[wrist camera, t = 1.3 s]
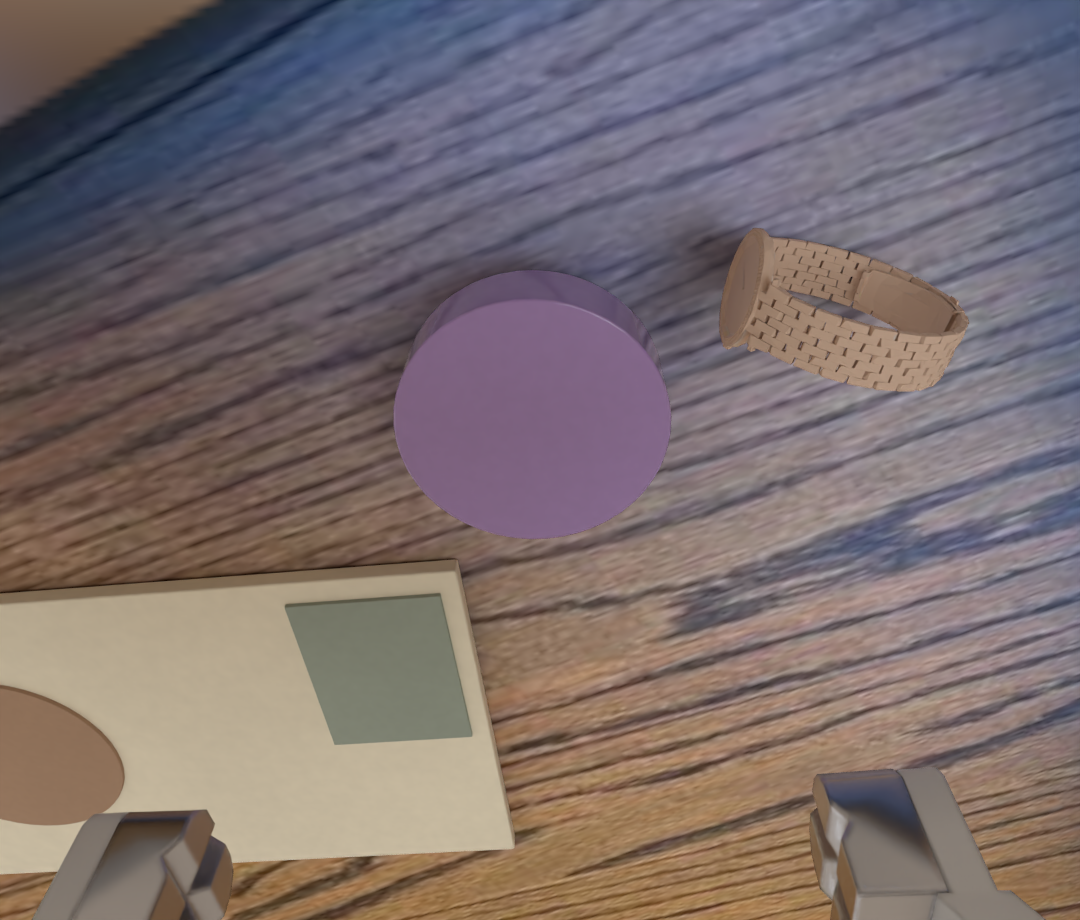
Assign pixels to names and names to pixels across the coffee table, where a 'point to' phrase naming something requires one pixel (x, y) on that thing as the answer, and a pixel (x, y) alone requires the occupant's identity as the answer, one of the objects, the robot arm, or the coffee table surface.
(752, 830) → the coffee table surface
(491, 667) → the coffee table surface
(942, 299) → the perforated watch strap
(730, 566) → the coffee table surface
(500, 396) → the lavender hockey puck
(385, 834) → the mat
